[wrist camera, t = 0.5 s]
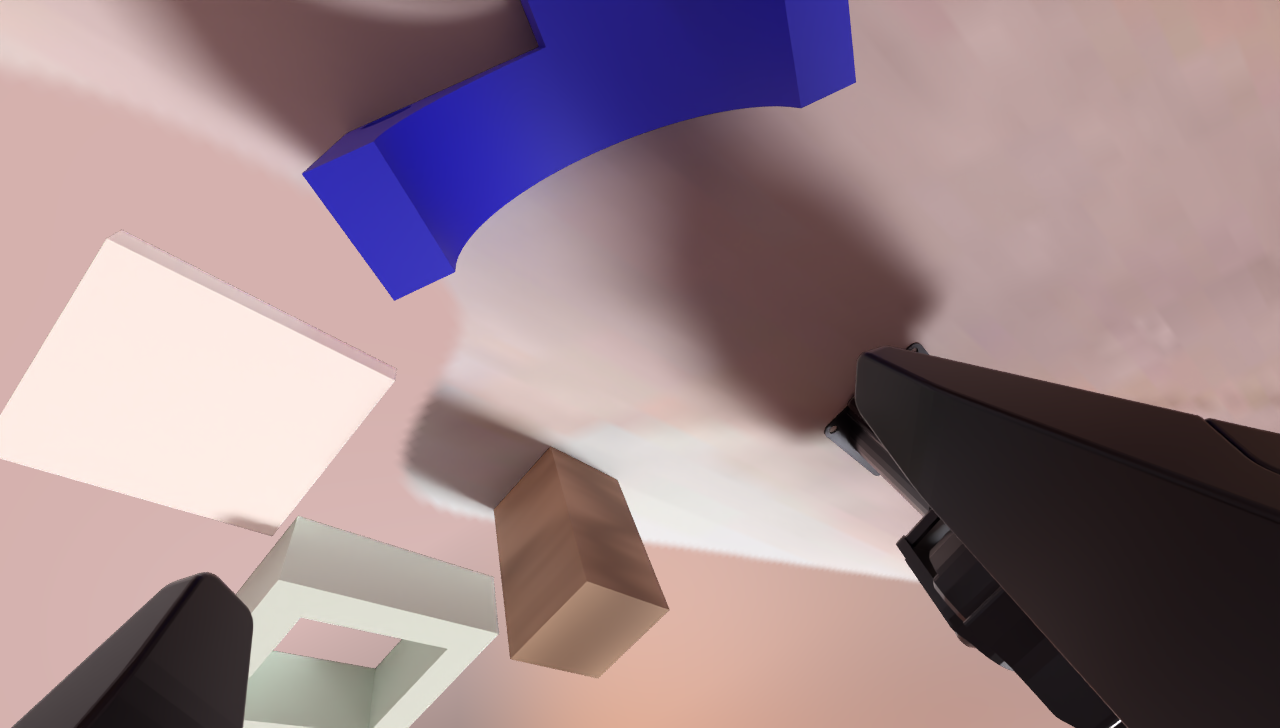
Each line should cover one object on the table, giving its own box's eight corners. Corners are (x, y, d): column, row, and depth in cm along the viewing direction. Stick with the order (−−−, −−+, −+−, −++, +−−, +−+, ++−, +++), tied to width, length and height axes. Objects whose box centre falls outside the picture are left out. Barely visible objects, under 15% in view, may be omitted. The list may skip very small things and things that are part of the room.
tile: (396, 368, 19) (395, 380, 18) (277, 520, 20) (272, 536, 20) (121, 229, 15) (106, 238, 14) (-4, 435, 16) (-23, 452, 15)
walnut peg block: (617, 480, 25) (669, 609, 19) (563, 536, 26) (598, 678, 20) (550, 446, 23) (586, 581, 17) (493, 509, 23) (510, 659, 18)
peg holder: (493, 576, 25) (498, 633, 23) (386, 691, 27) (381, 755, 25) (297, 515, 21) (278, 579, 18) (183, 660, 22) (151, 736, 20)
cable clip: (706, -98, 15) (832, -165, 10) (741, 71, 18) (855, 82, 13) (311, 76, 14) (242, 93, 9) (408, 226, 17) (394, 301, 12)
